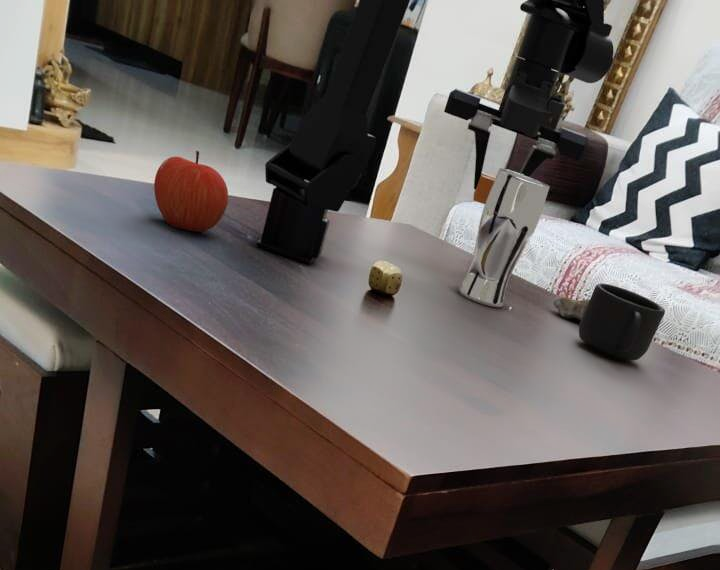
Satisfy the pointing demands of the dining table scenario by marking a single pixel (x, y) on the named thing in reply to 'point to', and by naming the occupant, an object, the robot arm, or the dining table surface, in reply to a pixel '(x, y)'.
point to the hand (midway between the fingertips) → (492, 195)
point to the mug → (619, 323)
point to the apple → (190, 194)
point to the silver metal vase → (503, 235)
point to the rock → (571, 307)
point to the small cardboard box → (484, 187)
